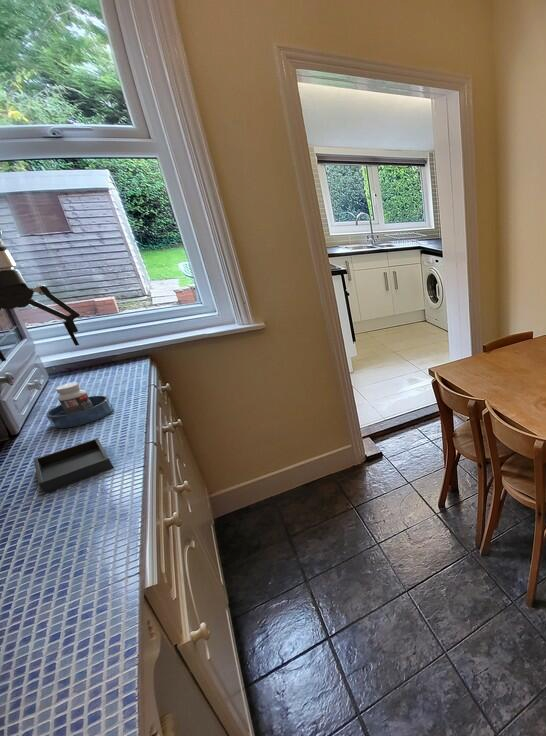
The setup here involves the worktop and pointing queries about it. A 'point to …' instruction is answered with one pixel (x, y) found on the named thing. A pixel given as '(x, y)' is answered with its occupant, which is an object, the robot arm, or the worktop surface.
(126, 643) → the worktop surface
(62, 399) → the pill bottle
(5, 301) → the robot arm
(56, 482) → the tray
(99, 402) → the bowl
